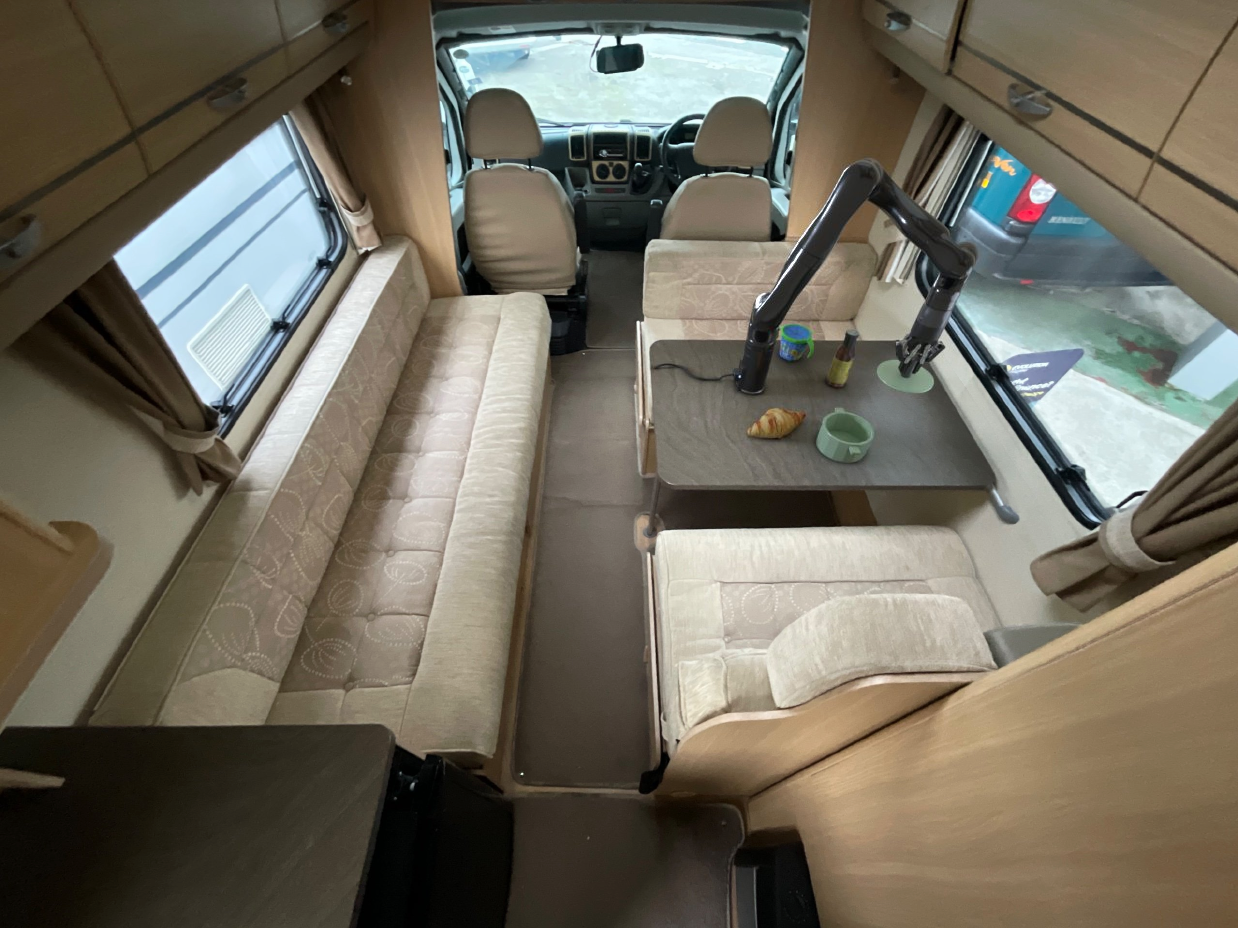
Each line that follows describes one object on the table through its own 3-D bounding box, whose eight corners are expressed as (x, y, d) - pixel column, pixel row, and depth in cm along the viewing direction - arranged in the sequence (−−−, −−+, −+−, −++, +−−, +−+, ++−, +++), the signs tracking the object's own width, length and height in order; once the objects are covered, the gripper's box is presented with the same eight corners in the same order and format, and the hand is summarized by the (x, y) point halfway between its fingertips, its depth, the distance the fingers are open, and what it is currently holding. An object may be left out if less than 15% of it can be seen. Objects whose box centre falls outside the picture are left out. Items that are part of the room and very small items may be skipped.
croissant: (750, 451, 173) (761, 442, 165) (736, 422, 175) (747, 412, 167) (805, 431, 179) (818, 422, 171) (791, 404, 181) (804, 393, 174)
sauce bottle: (846, 388, 190) (866, 338, 176) (828, 388, 190) (846, 338, 176) (841, 377, 195) (860, 327, 181) (823, 376, 195) (841, 327, 181)
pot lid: (885, 394, 158) (894, 373, 152) (869, 361, 168) (878, 341, 163) (940, 396, 157) (951, 375, 152) (921, 363, 168) (931, 343, 163)
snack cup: (816, 361, 201) (824, 337, 194) (796, 371, 197) (803, 347, 189) (784, 341, 210) (790, 317, 203) (764, 350, 205) (770, 326, 198)
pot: (824, 468, 163) (831, 450, 158) (809, 423, 177) (816, 405, 172) (873, 470, 163) (883, 452, 158) (855, 424, 177) (863, 406, 172)
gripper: (952, 313, 151) (926, 365, 164) (901, 311, 152) (878, 363, 164) (963, 328, 146) (935, 380, 159) (910, 326, 146) (886, 379, 159)
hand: (906, 371), depth 161 cm, fingers closed on pot lid, 3 cm apart
